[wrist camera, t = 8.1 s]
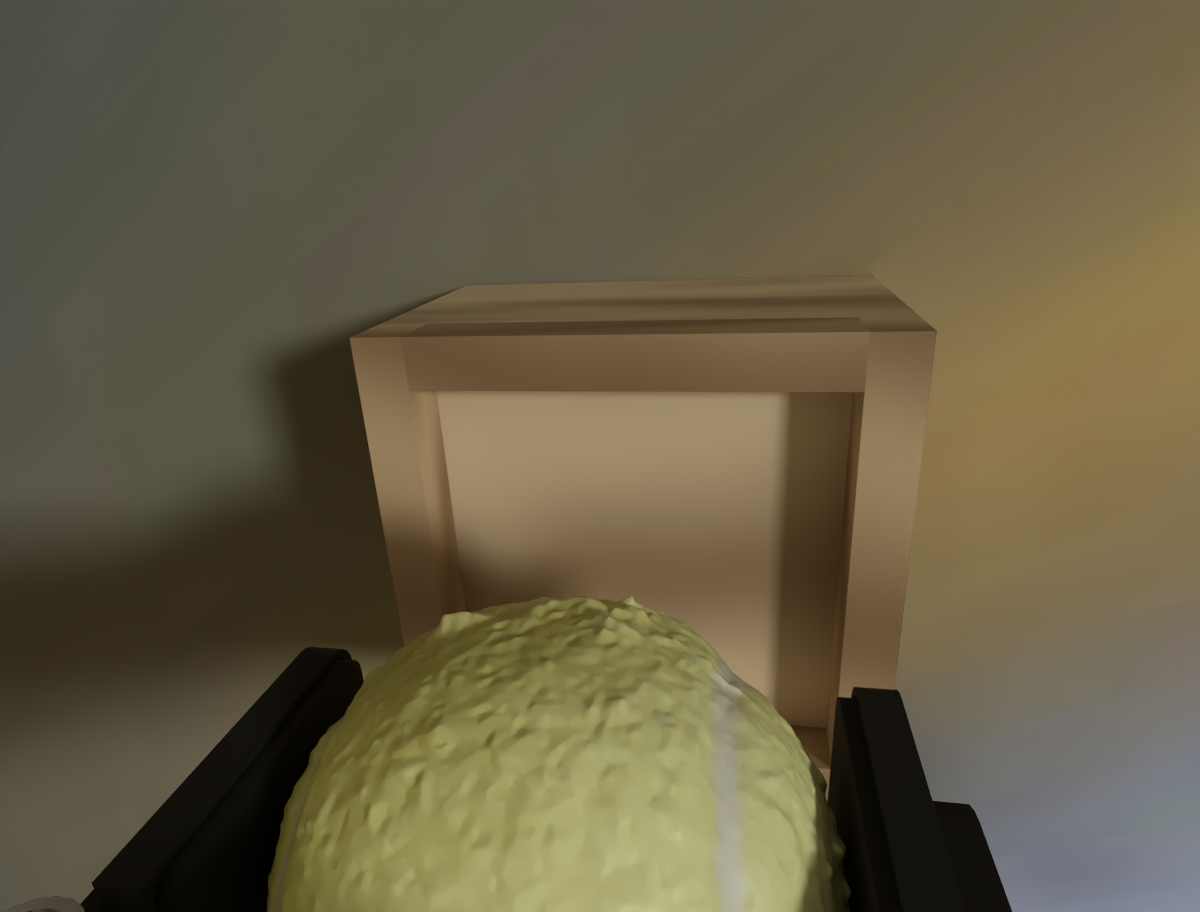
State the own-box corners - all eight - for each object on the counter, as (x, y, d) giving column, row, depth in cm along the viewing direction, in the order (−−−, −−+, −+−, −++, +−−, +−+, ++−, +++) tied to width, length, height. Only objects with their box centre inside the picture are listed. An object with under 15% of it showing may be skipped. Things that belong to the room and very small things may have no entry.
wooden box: (466, 285, 19) (349, 337, 13) (872, 275, 17) (937, 331, 11) (504, 613, 23) (424, 764, 17) (842, 634, 21) (879, 811, 15)
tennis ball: (240, 1432, 7) (981, 1585, 5) (-39, 844, 6) (777, 775, 4) (487, 902, 13) (873, 886, 11) (371, 561, 12) (777, 480, 10)
